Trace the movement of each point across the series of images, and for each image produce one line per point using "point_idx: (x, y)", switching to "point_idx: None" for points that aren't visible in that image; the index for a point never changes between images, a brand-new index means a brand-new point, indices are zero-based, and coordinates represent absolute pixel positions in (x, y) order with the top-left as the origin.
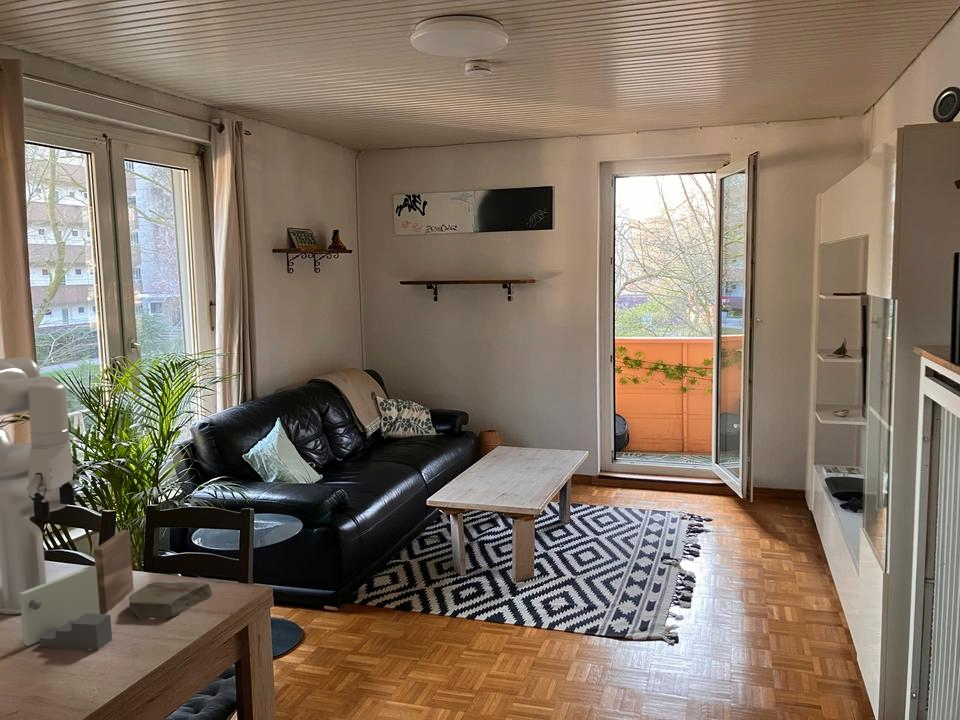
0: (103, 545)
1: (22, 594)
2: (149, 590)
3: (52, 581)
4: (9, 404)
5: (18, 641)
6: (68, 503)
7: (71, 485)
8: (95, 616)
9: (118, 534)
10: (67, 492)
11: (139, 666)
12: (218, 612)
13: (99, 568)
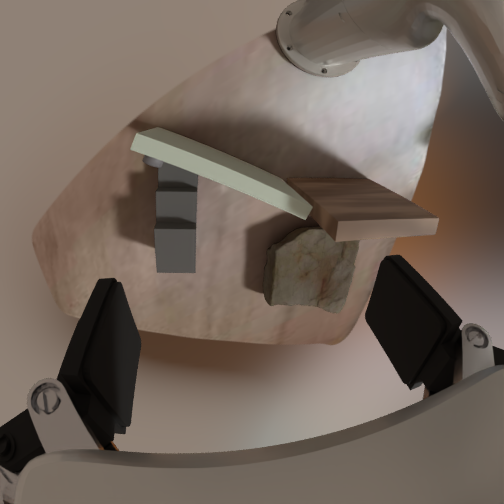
0: (363, 228)
1: (132, 145)
2: (329, 247)
3: (210, 168)
4: None
5: (176, 103)
6: (370, 303)
7: (425, 393)
8: (185, 253)
9: (420, 224)
10: (404, 350)
11: (139, 316)
12: (282, 332)
13: (317, 212)
